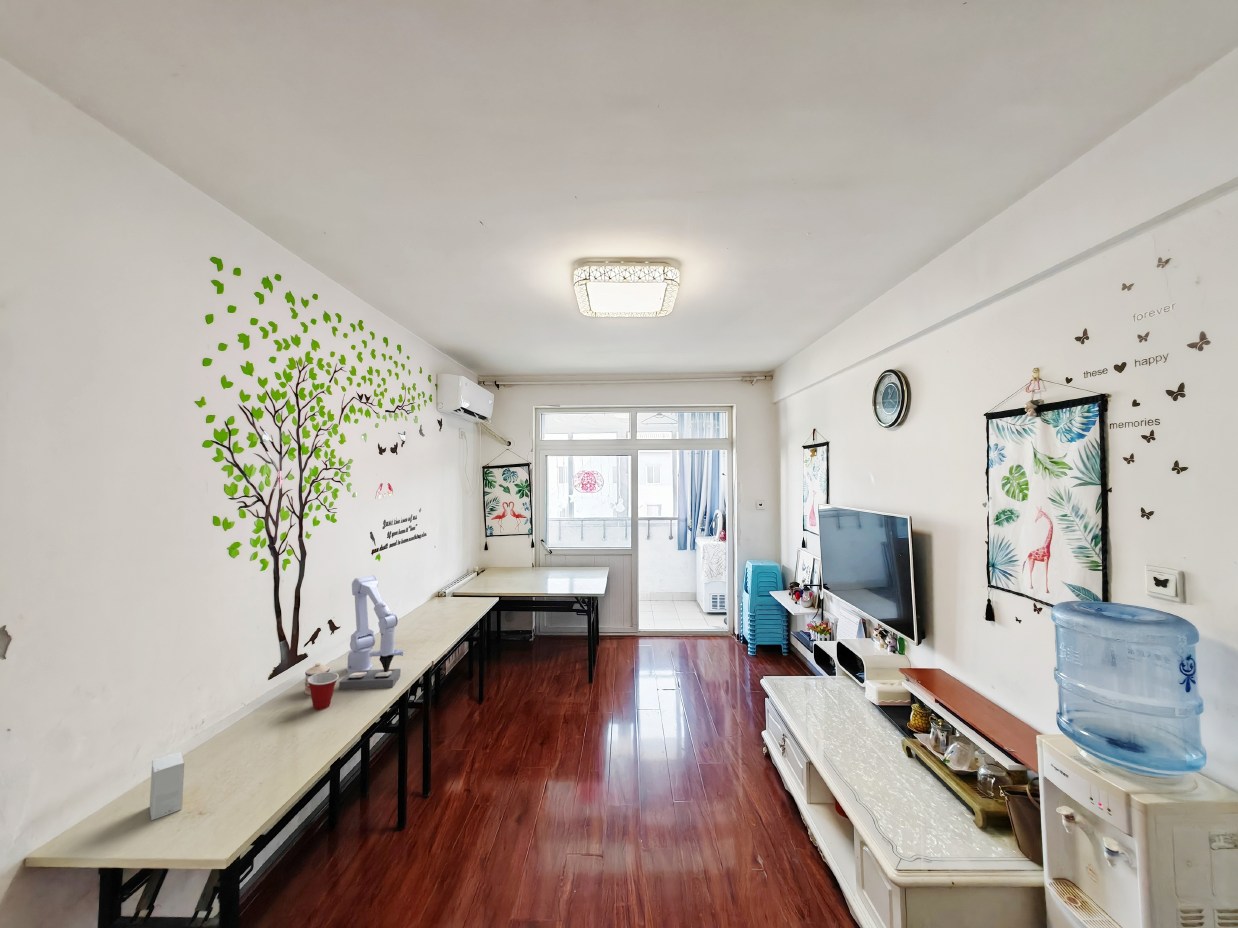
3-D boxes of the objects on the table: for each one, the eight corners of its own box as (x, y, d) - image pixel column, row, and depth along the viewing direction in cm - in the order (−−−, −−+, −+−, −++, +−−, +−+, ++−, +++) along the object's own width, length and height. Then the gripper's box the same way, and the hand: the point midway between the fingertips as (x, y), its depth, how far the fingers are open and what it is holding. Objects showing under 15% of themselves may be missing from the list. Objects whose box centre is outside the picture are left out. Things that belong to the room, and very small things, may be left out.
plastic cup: (324, 714, 187) (325, 683, 187) (299, 711, 188) (300, 681, 188) (344, 701, 197) (345, 672, 198) (320, 699, 199) (321, 670, 199)
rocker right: (375, 676, 212) (375, 673, 212) (380, 673, 220) (381, 671, 220) (387, 675, 213) (387, 673, 213) (392, 673, 220) (392, 670, 221)
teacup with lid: (299, 695, 202) (300, 667, 202) (312, 685, 211) (313, 659, 211) (327, 695, 202) (328, 668, 202) (340, 686, 211) (341, 659, 211)
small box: (182, 809, 133) (184, 762, 134) (150, 821, 129) (153, 772, 129) (179, 795, 139) (181, 750, 139) (149, 806, 134) (151, 759, 135)
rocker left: (348, 677, 210) (348, 674, 211) (355, 674, 218) (355, 672, 218) (360, 677, 211) (361, 674, 211) (366, 674, 219) (367, 671, 219)
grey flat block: (338, 689, 208) (339, 681, 208) (349, 678, 219) (349, 670, 220) (392, 687, 211) (392, 679, 211) (400, 675, 223) (400, 668, 223)
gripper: (367, 645, 215) (366, 675, 215) (401, 644, 217) (400, 674, 217) (372, 640, 222) (371, 669, 221) (405, 638, 224) (404, 667, 224)
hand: (386, 671), depth 220 cm, fingers closed, pressing on rocker right
